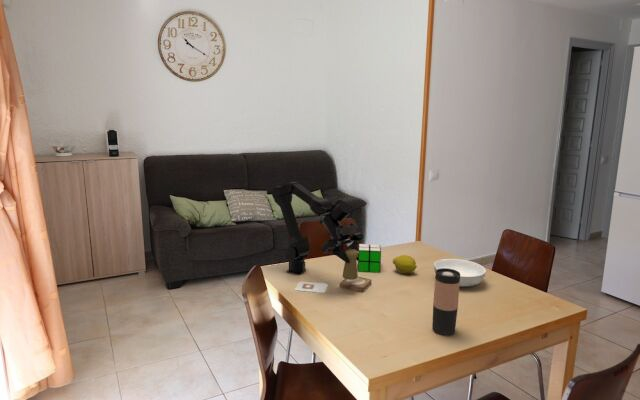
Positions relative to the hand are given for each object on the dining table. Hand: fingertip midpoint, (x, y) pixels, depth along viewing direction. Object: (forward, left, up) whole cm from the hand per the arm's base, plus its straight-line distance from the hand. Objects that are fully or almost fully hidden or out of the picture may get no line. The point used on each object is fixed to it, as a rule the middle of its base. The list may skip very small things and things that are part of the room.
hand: (353, 261), depth 169 cm
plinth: (-2, +8, -13) cm, 15 cm away
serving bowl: (+35, +32, -13) cm, 49 cm away
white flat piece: (-17, -2, -13) cm, 21 cm away
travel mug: (+37, -14, -13) cm, 42 cm away
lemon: (+12, +32, -13) cm, 37 cm away
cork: (-1, 0, -7) cm, 7 cm away
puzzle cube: (-4, +30, -13) cm, 33 cm away
